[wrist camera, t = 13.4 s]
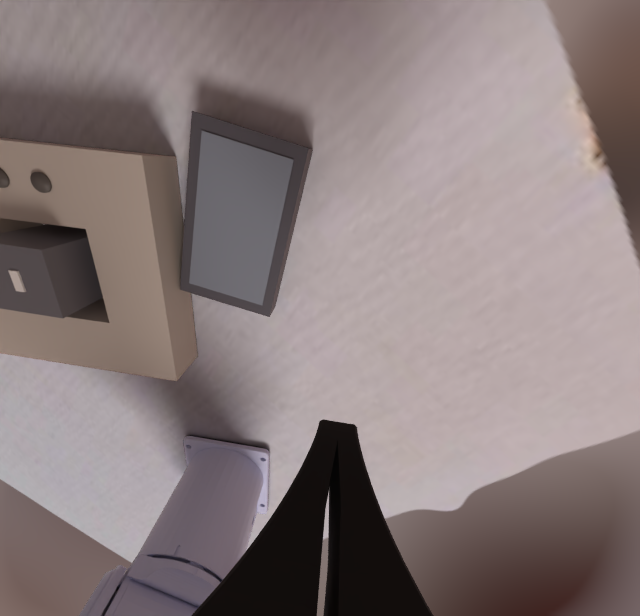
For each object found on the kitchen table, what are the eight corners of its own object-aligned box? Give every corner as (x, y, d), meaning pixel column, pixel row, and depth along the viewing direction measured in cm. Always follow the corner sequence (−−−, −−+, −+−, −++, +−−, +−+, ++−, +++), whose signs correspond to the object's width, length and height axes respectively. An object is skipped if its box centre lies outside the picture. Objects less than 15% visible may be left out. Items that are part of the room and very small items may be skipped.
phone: (276, 303, 21) (269, 317, 19) (195, 278, 21) (179, 290, 19) (314, 149, 17) (308, 148, 15) (210, 116, 16) (191, 110, 15)
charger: (124, 286, 21) (61, 319, 17) (72, 278, 22) (-4, 309, 17) (113, 230, 20) (39, 250, 15) (56, 222, 20) (-34, 239, 15)
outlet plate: (197, 356, 23) (175, 382, 20) (32, 330, 24) (-11, 353, 21) (176, 156, 17) (139, 155, 14) (-46, 132, 18) (-122, 127, 15)
